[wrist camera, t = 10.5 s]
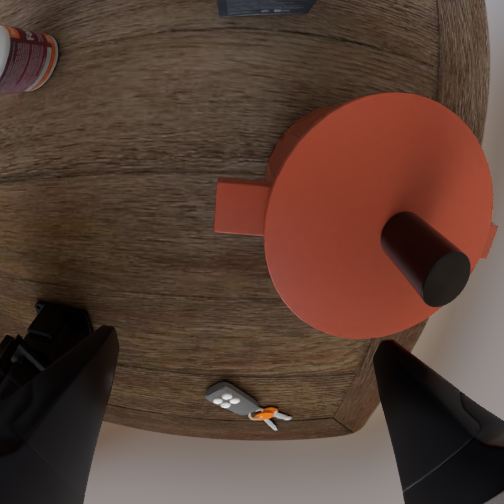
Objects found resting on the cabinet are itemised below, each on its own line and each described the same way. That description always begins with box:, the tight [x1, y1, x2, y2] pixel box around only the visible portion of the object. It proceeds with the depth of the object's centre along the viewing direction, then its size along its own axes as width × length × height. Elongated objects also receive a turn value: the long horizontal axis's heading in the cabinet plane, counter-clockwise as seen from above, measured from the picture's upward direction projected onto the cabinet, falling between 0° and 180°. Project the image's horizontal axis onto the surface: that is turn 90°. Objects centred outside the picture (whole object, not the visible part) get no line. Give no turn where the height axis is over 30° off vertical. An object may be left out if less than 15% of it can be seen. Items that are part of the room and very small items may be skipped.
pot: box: [214, 104, 498, 259], centre depth 16 cm, size 12×17×8 cm
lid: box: [263, 92, 493, 339], centre depth 11 cm, size 13×13×5 cm
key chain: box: [205, 382, 292, 431], centre depth 30 cm, size 13×4×2 cm, turn 42°
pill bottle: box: [0, 25, 58, 94], centre depth 10 cm, size 5×5×8 cm
